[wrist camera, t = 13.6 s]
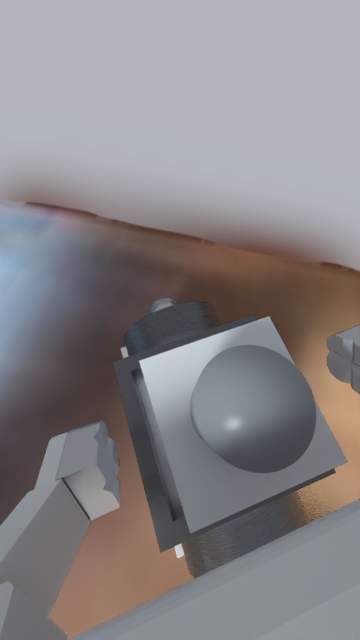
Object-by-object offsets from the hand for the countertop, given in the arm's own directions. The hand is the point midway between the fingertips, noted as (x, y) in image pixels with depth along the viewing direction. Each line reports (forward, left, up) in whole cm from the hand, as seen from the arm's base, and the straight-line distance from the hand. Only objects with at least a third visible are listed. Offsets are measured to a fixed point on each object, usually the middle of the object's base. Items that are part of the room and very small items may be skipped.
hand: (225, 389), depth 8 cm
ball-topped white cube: (0, -1, -6) cm, 6 cm away
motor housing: (0, -1, -16) cm, 16 cm away
